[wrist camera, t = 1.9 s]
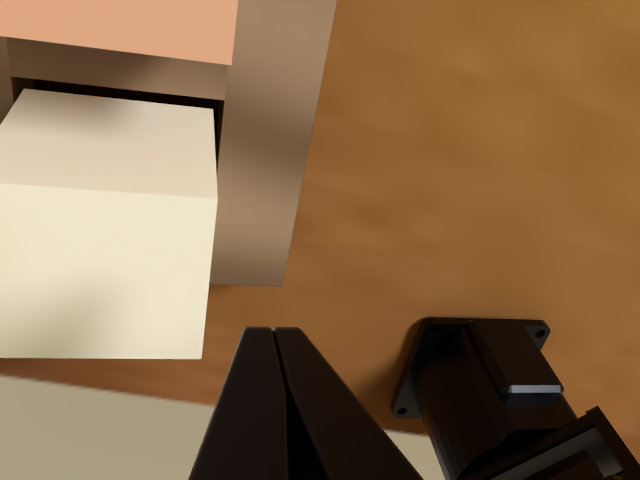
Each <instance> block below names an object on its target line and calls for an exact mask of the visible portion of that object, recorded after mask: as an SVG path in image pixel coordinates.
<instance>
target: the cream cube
mask: <svg viewBox="0 0 640 480" xmlns="http://www.w3.org/2000/svg"><path fill="white" fill-rule="evenodd" d="M217 202H218V193H217V174H216V155H215V135H214V116H213V109H208V108H199V107H190V106H181V105H172V104H162V103H153V102H144V101H135V100H125V99H116V98H107V97H98V96H88V95H79V94H70V93H61V92H52V91H42V90H33V89H23V91H22V92H21V94H20V96H19V97H18V99H17V100H16V102H15V103H14V105H13V106H12V108H11V109H10V111H9V112H8V114H7V116H6V117H5V119H4V120H3V122H2V123H1V125H0V358H107V359H201V357H202V347H203V338H204V328H205V318H206V309H207V299H208V289H209V280H210V270H211V260H212V250H213V241H214V231H215V221H216V212H217Z"/></svg>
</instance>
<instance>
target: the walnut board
mask: <svg viewBox="0 0 640 480" xmlns="http://www.w3.org/2000/svg"><path fill="white" fill-rule="evenodd" d="M336 3H337V0H238V8H237V17H236V27H235V37H234V47H233V56H232V65H225V64H217V63H209V62H201V61H193V60H186V59H178V58H170V57H162V56H154V55H146V54H138V53H130V52H123V51H115V50H107V49H99V48H91V47H83V46H75V45H68V44H60V43H52V42H44V41H36V40H28V39H20V38H12V37H5V36H0V125H1V123H2V122H3V120H4V119H5V117H6V116H7V114H8V112H9V111H10V109H11V108H12V106H13V105H14V103H15V102H16V100H17V99H18V97H19V96H20V94H21V92H22V91H23V89H33V90H35V85H34V79H39V80H48V81H57V82H66V83H75V84H84V85H93V86H102V87H110V88H119V89H128V90H137V91H146V92H155V93H164V94H173V95H182V96H190V97H199V98H208V99H217V100H219V107H218V118H217V128H216V139H215V155H216V174H217V193H218V202H217V212H216V221H215V231H214V241H213V250H212V260H211V270H210V280H209V284H217V285H244V286H271V287H282V285H283V280H284V275H285V269H286V264H287V259H288V254H289V248H290V243H291V238H292V233H293V228H294V222H295V217H296V212H297V207H298V202H299V196H300V191H301V186H302V181H303V175H304V170H305V165H306V160H307V155H308V149H309V144H310V139H311V134H312V129H313V123H314V118H315V113H316V108H317V102H318V97H319V92H320V87H321V82H322V76H323V71H324V66H325V61H326V56H327V50H328V45H329V40H330V35H331V29H332V24H333V19H334V14H335V9H336Z"/></svg>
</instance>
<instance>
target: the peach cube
mask: <svg viewBox="0 0 640 480" xmlns="http://www.w3.org/2000/svg"><path fill="white" fill-rule="evenodd" d="M237 8H238V0H0V36H5V37H12V38H20V39H28V40H36V41H44V42H52V43H60V44H68V45H75V46H83V47H91V48H99V49H107V50H115V51H123V52H130V53H138V54H146V55H154V56H162V57H170V58H178V59H186V60H193V61H201V62H209V63H217V64H225V65H232V56H233V47H234V37H235V27H236V17H237Z"/></svg>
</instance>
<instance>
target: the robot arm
mask: <svg viewBox="0 0 640 480" xmlns="http://www.w3.org/2000/svg"><path fill="white" fill-rule="evenodd" d="M432 328H433V329H432ZM430 329H431V330H430ZM549 334H550V328H549V327H548V325H547V324H546V323H545V322H544V321H542V320H513V319H474V318H435V317H434V318H429V319H426V320H425V321H424V322H423V323H422V324H421V326H420V329H419V331H418V334H417V337H416V339H415V342H414V345H413V347H412V350H411V352H410V355H409V358H408V360H407V363H406V366H405V368H404V371H403V374H402V376H401V379H400V382H399V384H398V387H397V390H396V392H395V395H394V398H393V400H392V403H391V407H390V408H391V411H392V414H393V416H395V417H397V418H414V417H422V418H423V421H424V424H425V426H426V429H427V432H428V434H429V437H430V440H431V442H432V445H433V448H434V450H435V453H436V455H437V458H438V461H439V464H440V466H441V469H442V471H443V474H444V477H445V480H640V465H639V463H638V462H637V461H636V459H635V458H634V456H633V455H632V454H631V452H630V451H629V449H628V448H627V446H626V445H625V444H624V442H623V441H622V439H621V438H620V437H619V435H618V434H617V432H616V431H615V429H614V428H613V427H612V425H611V424H610V422H609V421H608V420H607V418H606V417H605V415H604V414H603V413H602V411H601V410H600V408H599V407H598V406H596V407H594V408H592V409H590V410H588V411H586V415H584V416H582V417H580V418H577V416H576V415H575V413H574V412H573V410H572V409H571V407H570V405H569V404H568V402H567V401H566V399H565V398H564V396H563V394H562V393H563V391H564V387H563V385H562V384H561V382H560V381H559V379H558V378H557V376H556V375H555V373H554V371H553V370H552V368H551V367H550V365H549V364H548V362H547V361H546V359H545V357H544V356H543V354H542V353H541V351H540V350H541V348H542V347H543V345H544V343H545V341H546V339H547V337H548V336H549ZM188 480H423V478H422V477H421V476H420V474H419V473H418V472H417V471H416V470H415V468H414V467H413V466H412V465H411V463H410V462H409V461H408V460H407V458H406V457H405V456H404V455H403V454H402V452H401V451H400V450H399V449H398V447H397V446H396V445H395V444H394V443H393V441H392V440H391V439H390V438H389V436H388V435H387V434H386V433H385V432H384V430H383V429H382V428H381V427H380V425H379V424H378V423H377V422H376V420H375V419H374V418H373V417H372V416H371V414H370V413H369V412H368V411H367V409H366V408H365V407H364V406H363V405H362V403H361V402H360V401H359V400H358V398H357V397H356V396H355V395H354V394H353V392H352V391H351V390H350V389H349V387H348V386H347V385H346V384H345V383H344V381H343V380H342V379H341V378H340V376H339V375H338V374H337V373H336V371H335V370H334V369H333V368H332V367H331V365H330V364H329V363H328V362H327V360H326V359H325V358H324V357H323V356H322V354H321V353H320V352H319V351H318V349H317V348H316V347H315V346H314V345H313V343H312V342H311V341H310V340H309V338H308V337H307V336H306V335H305V334H304V332H303V331H302V330H301V329H299V328H297V327H275V328H274V329H273V330H272V329H271V328H270V327H253V326H248V327H246V328H245V329H244V330H243V333H242V335H241V338H240V341H239V343H238V346H237V349H236V352H235V354H234V357H233V360H232V362H231V365H230V368H229V371H228V373H227V376H226V379H225V381H224V384H223V387H222V390H221V392H220V395H219V398H218V400H217V403H216V406H215V409H214V411H213V414H212V417H211V419H210V422H209V425H208V428H207V430H206V433H205V436H204V439H203V442H202V444H201V447H200V449H199V452H198V455H197V457H196V460H195V463H194V466H193V468H192V471H191V474H190V477H189V479H188Z"/></svg>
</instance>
